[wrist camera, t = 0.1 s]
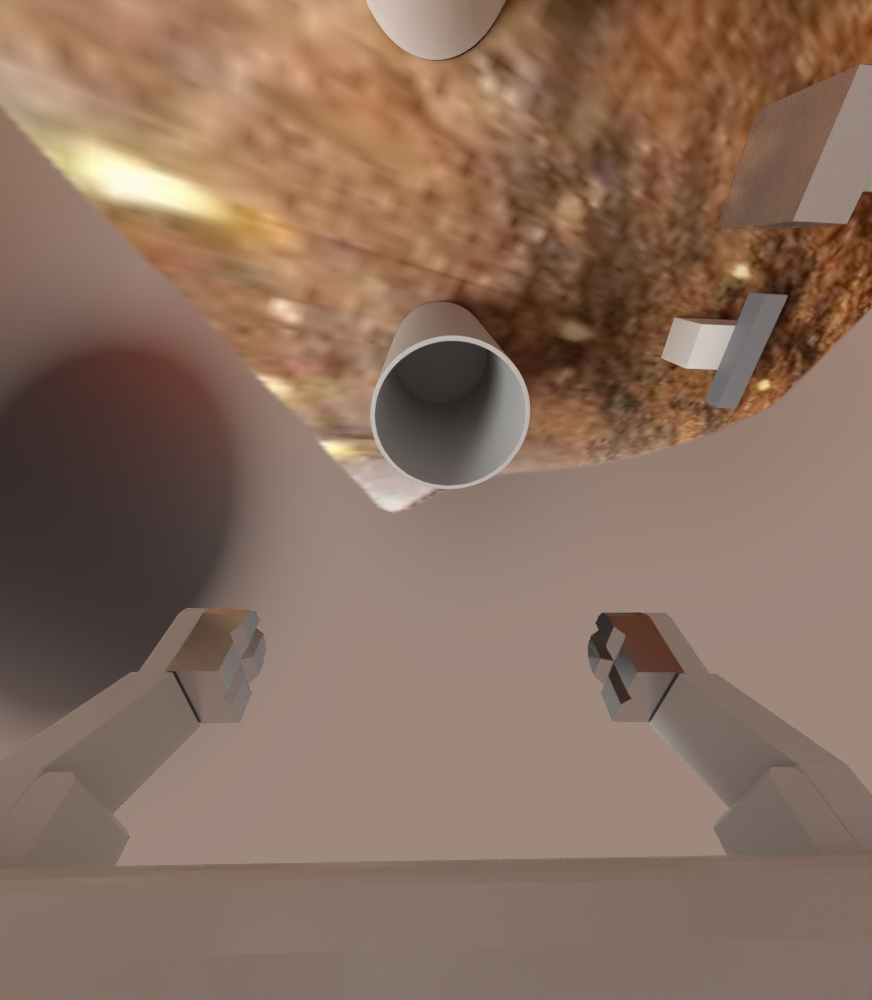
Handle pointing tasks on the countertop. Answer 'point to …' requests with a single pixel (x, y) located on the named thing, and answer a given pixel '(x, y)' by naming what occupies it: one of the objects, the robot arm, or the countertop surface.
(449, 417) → the cylinder vase
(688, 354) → the off-white cardboard box
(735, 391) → the bar
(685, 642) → the robot arm
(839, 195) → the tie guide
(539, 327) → the countertop surface
